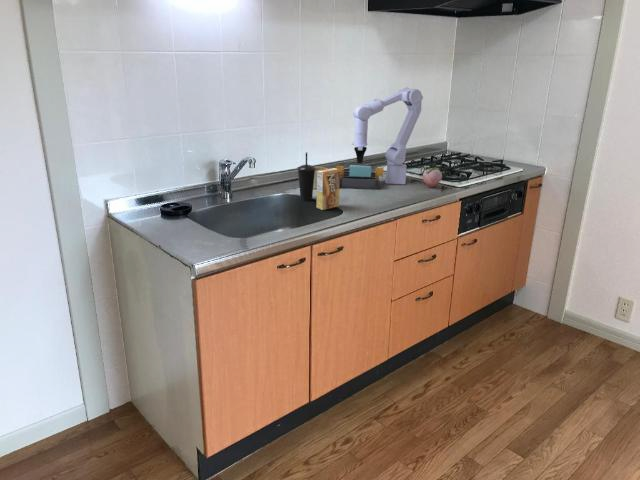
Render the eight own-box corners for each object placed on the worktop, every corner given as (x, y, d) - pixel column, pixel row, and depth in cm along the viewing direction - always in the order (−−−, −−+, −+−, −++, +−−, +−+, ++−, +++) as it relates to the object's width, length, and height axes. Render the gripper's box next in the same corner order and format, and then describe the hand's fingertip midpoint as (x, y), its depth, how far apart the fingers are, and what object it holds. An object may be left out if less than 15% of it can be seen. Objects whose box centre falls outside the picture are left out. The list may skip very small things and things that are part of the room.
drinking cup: (305, 196, 225) (305, 150, 218) (318, 199, 221) (319, 152, 214) (293, 199, 219) (293, 152, 212) (307, 203, 215) (307, 155, 208)
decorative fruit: (428, 183, 248) (430, 163, 245) (443, 187, 243) (445, 166, 239) (417, 187, 242) (419, 166, 238) (432, 190, 237) (434, 169, 233)
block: (370, 182, 245) (371, 165, 242) (370, 183, 243) (371, 166, 240) (349, 181, 246) (349, 165, 243) (349, 183, 243) (349, 166, 241)
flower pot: (321, 191, 232) (321, 172, 229) (303, 188, 237) (303, 169, 234) (332, 187, 240) (332, 168, 237) (315, 184, 244) (315, 166, 241)
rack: (382, 181, 251) (383, 164, 248) (382, 189, 236) (383, 171, 233) (336, 180, 253) (337, 162, 250) (334, 188, 238) (334, 169, 235)
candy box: (332, 204, 214) (333, 167, 209) (339, 206, 211) (340, 169, 206) (316, 208, 209) (316, 170, 203) (322, 210, 206) (323, 172, 200)
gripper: (352, 130, 243) (351, 159, 248) (351, 135, 230) (350, 166, 235) (367, 131, 243) (366, 159, 247) (367, 136, 229) (366, 166, 234)
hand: (359, 163), depth 241 cm, fingers closed
